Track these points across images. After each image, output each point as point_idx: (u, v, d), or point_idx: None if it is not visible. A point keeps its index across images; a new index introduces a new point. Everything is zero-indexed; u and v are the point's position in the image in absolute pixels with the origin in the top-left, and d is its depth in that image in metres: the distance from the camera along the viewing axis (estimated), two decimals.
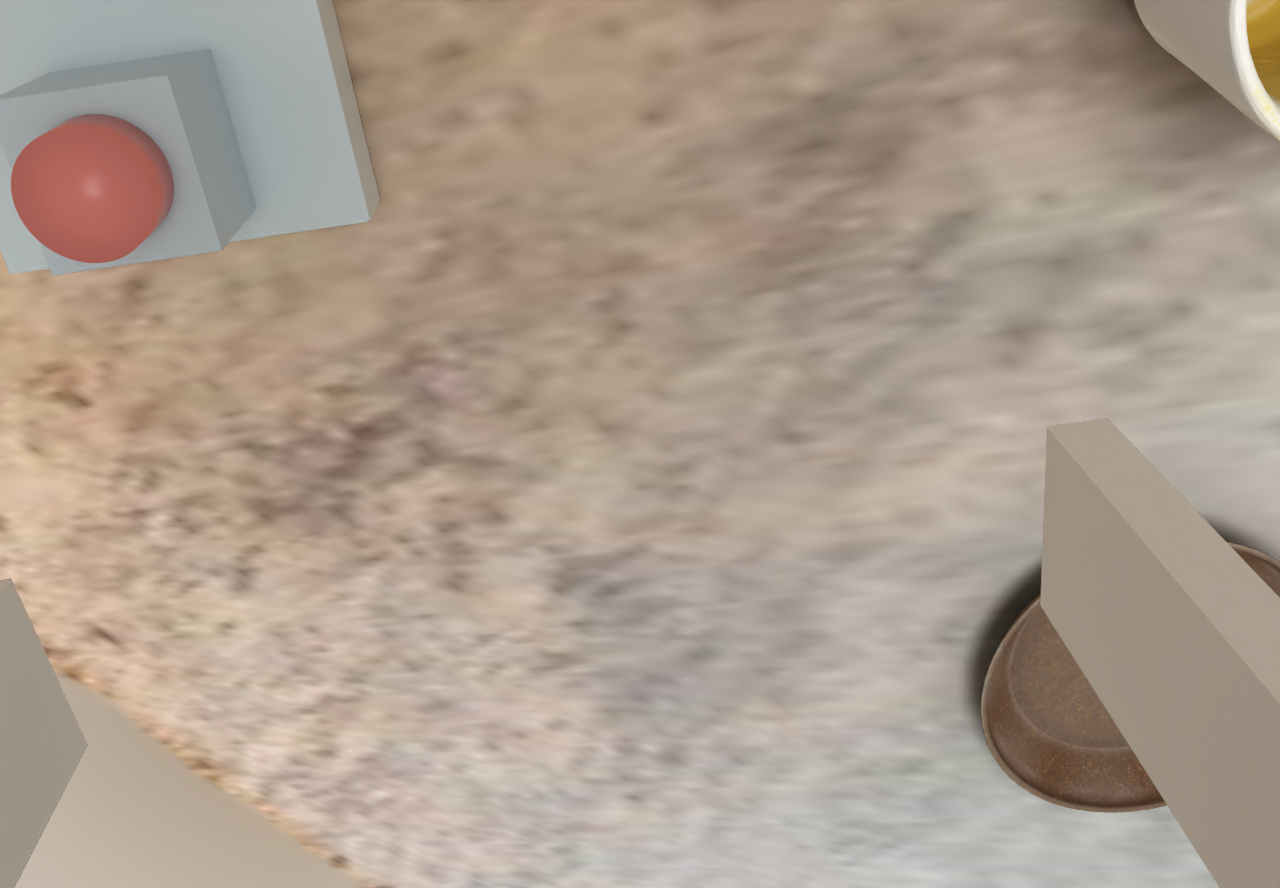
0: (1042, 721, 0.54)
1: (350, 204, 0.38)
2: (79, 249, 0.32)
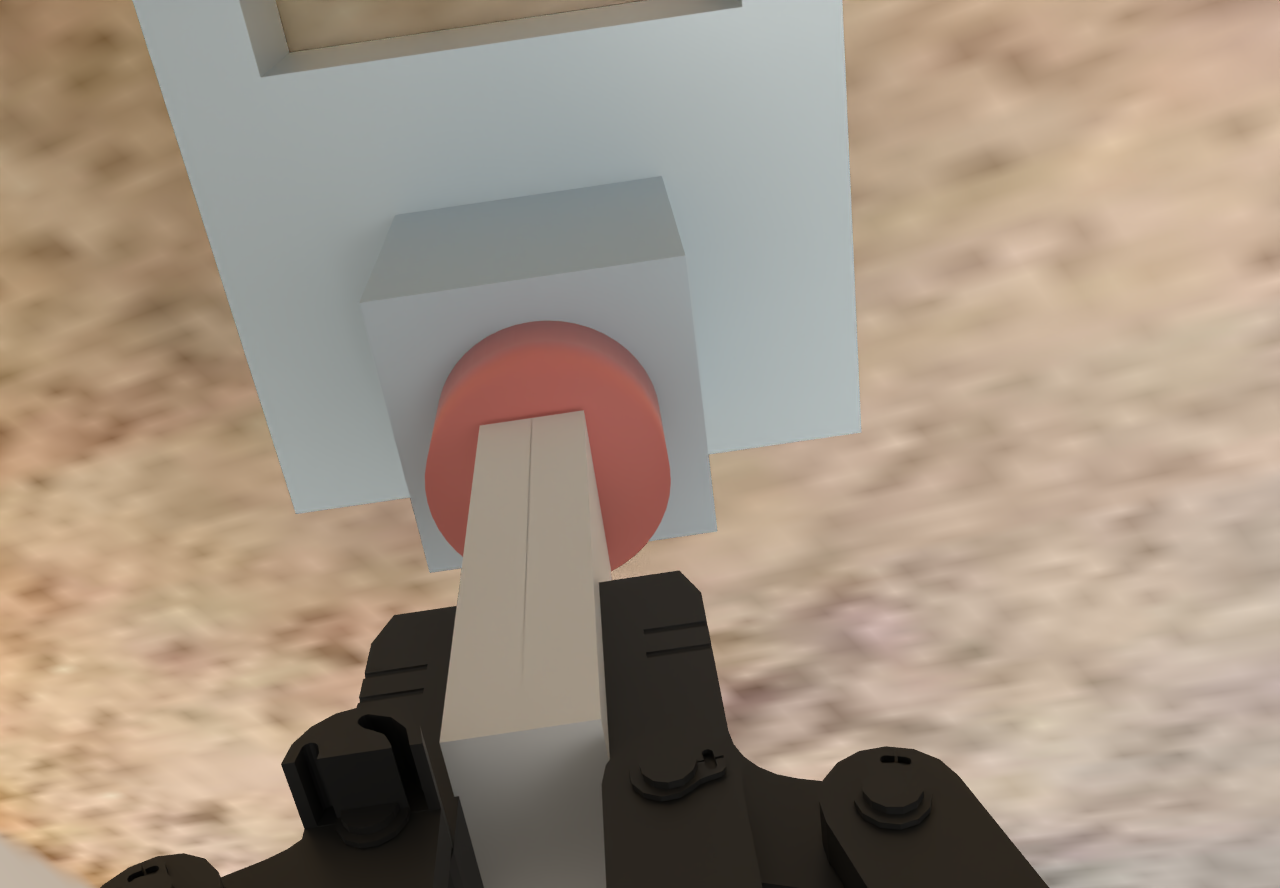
0: None
1: (836, 408, 0.24)
2: None
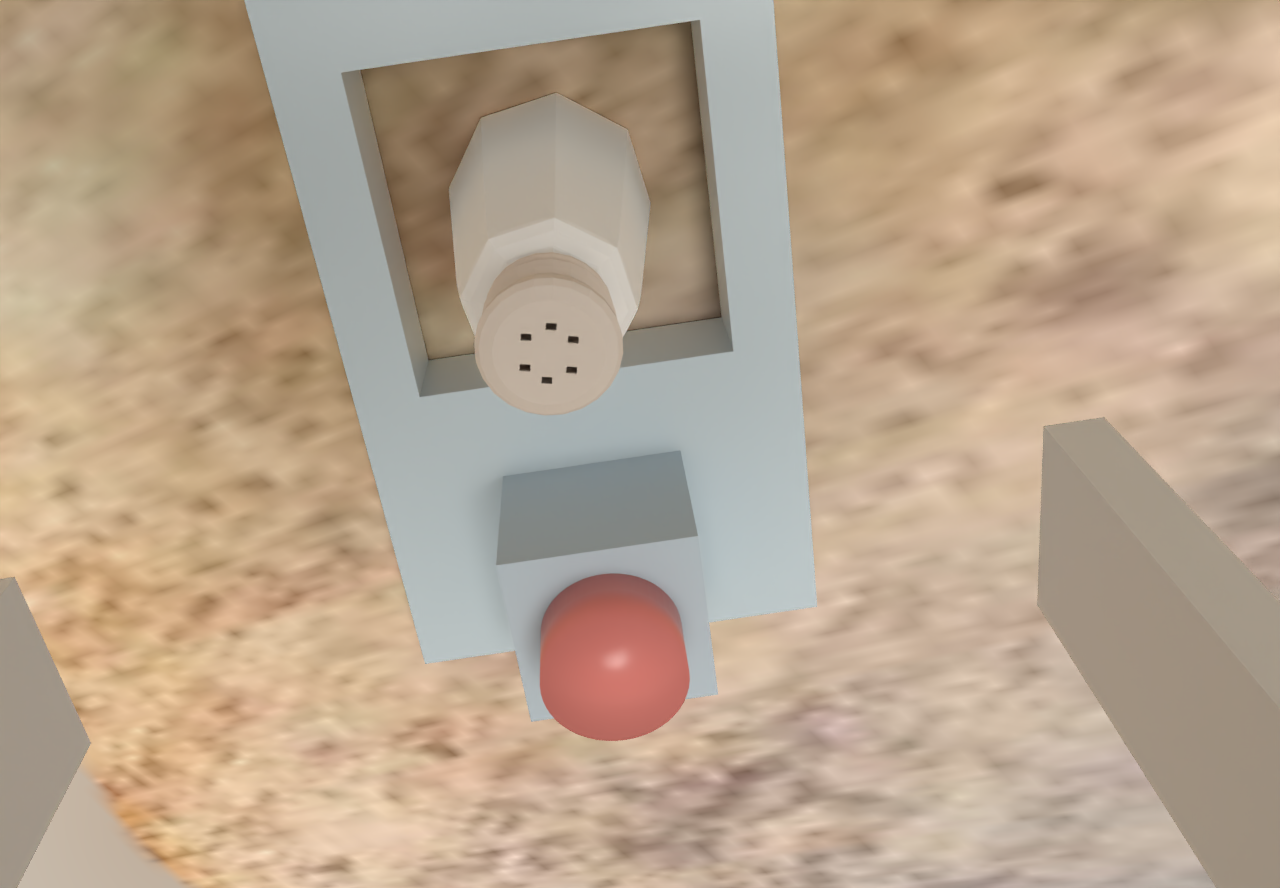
0: None
1: (799, 591, 0.35)
2: (600, 728, 0.29)
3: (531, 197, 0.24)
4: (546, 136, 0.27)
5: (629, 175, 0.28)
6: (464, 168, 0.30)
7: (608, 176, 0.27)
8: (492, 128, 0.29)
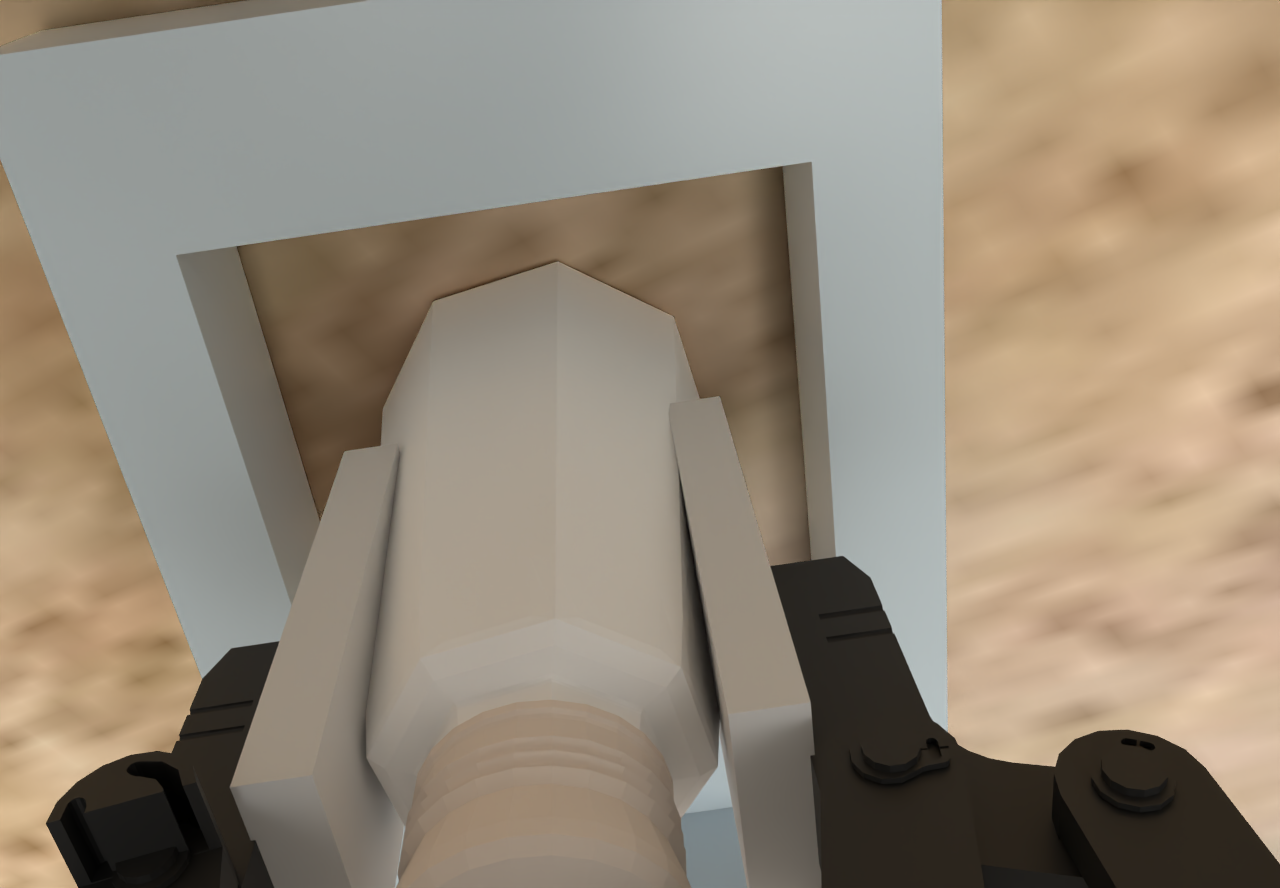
0: None
1: None
2: None
3: (509, 538, 0.13)
4: (540, 366, 0.16)
5: None
6: (404, 391, 0.18)
7: (651, 448, 0.15)
8: (449, 330, 0.17)
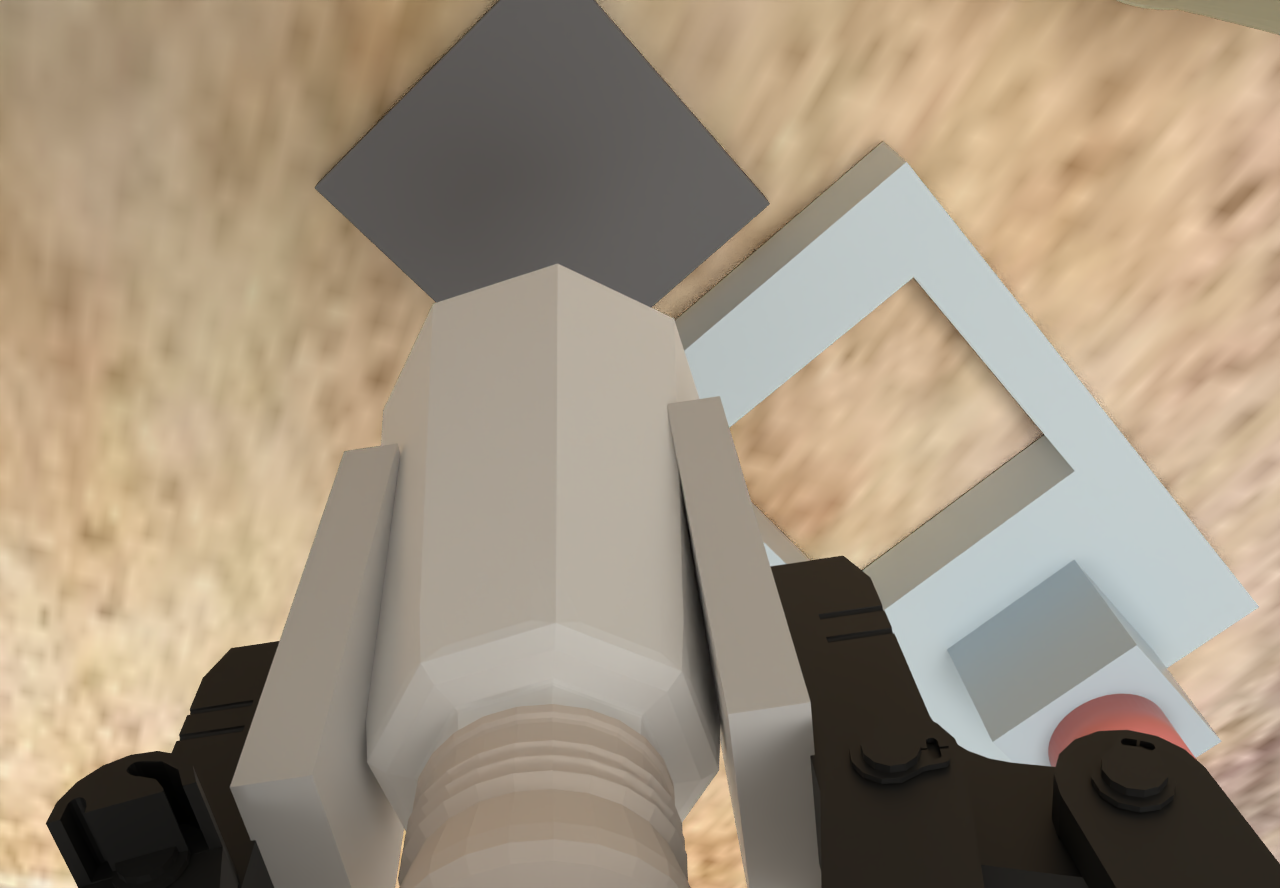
0: None
1: (1236, 604, 0.38)
2: None
3: (509, 542, 0.13)
4: (541, 369, 0.16)
5: None
6: (404, 394, 0.18)
7: (652, 451, 0.15)
8: (448, 333, 0.17)
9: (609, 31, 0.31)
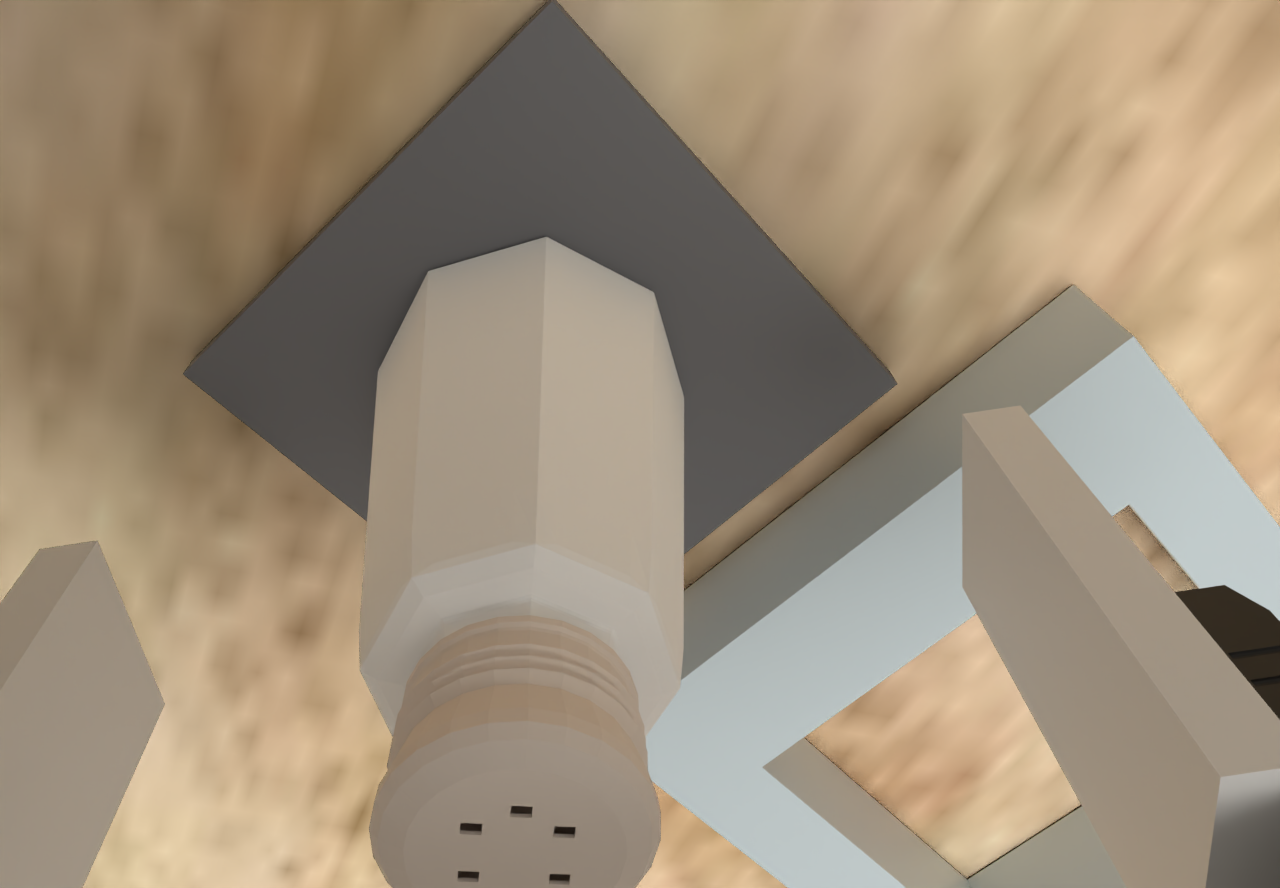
0: None
1: None
2: None
3: (495, 476, 0.14)
4: (527, 329, 0.17)
5: (659, 384, 0.18)
6: (399, 353, 0.19)
7: (628, 406, 0.16)
8: (442, 296, 0.19)
9: (650, 129, 0.19)
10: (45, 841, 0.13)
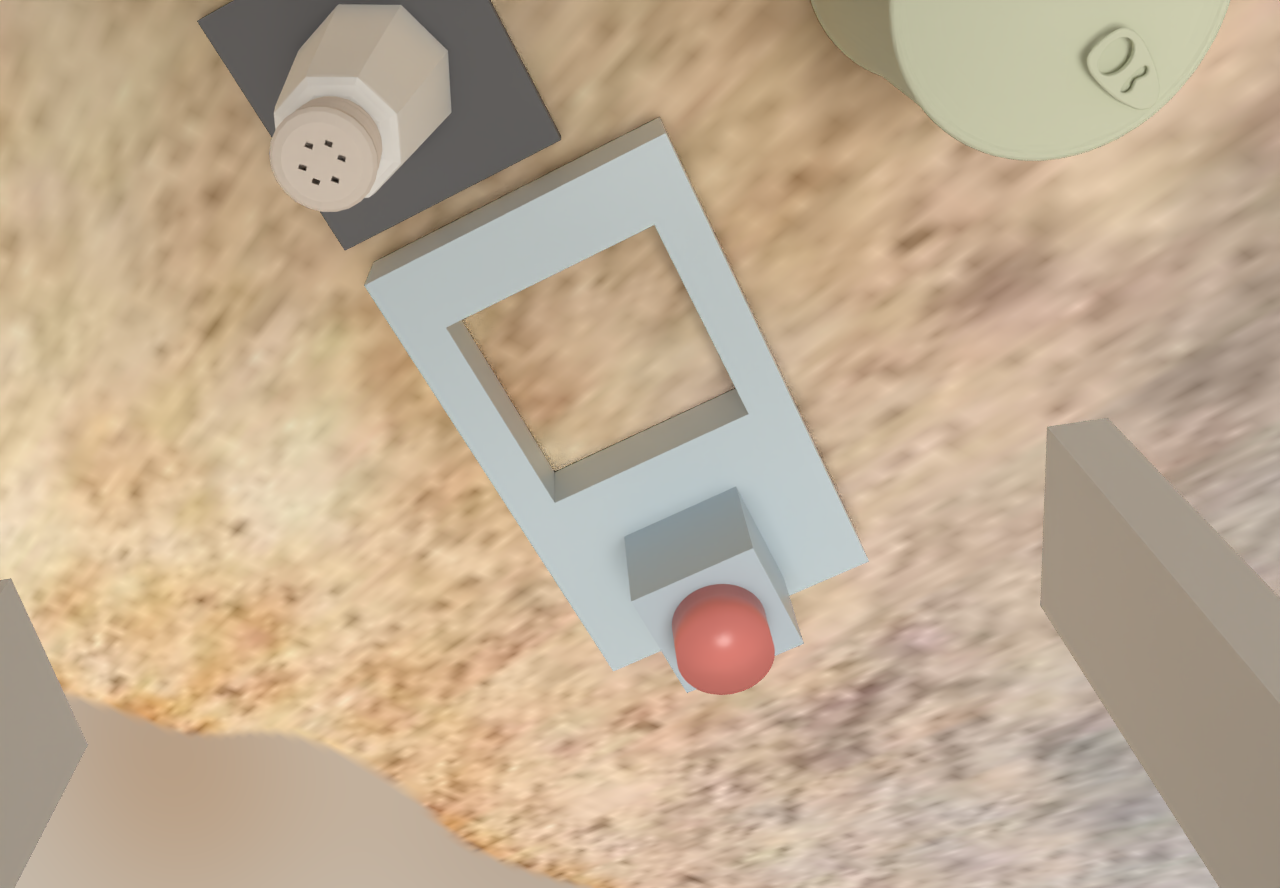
0: None
1: (852, 554, 0.49)
2: (726, 687, 0.43)
3: (347, 61, 0.33)
4: (378, 29, 0.36)
5: (434, 80, 0.38)
6: (313, 36, 0.38)
7: (414, 71, 0.36)
8: (342, 13, 0.38)
9: None
10: None
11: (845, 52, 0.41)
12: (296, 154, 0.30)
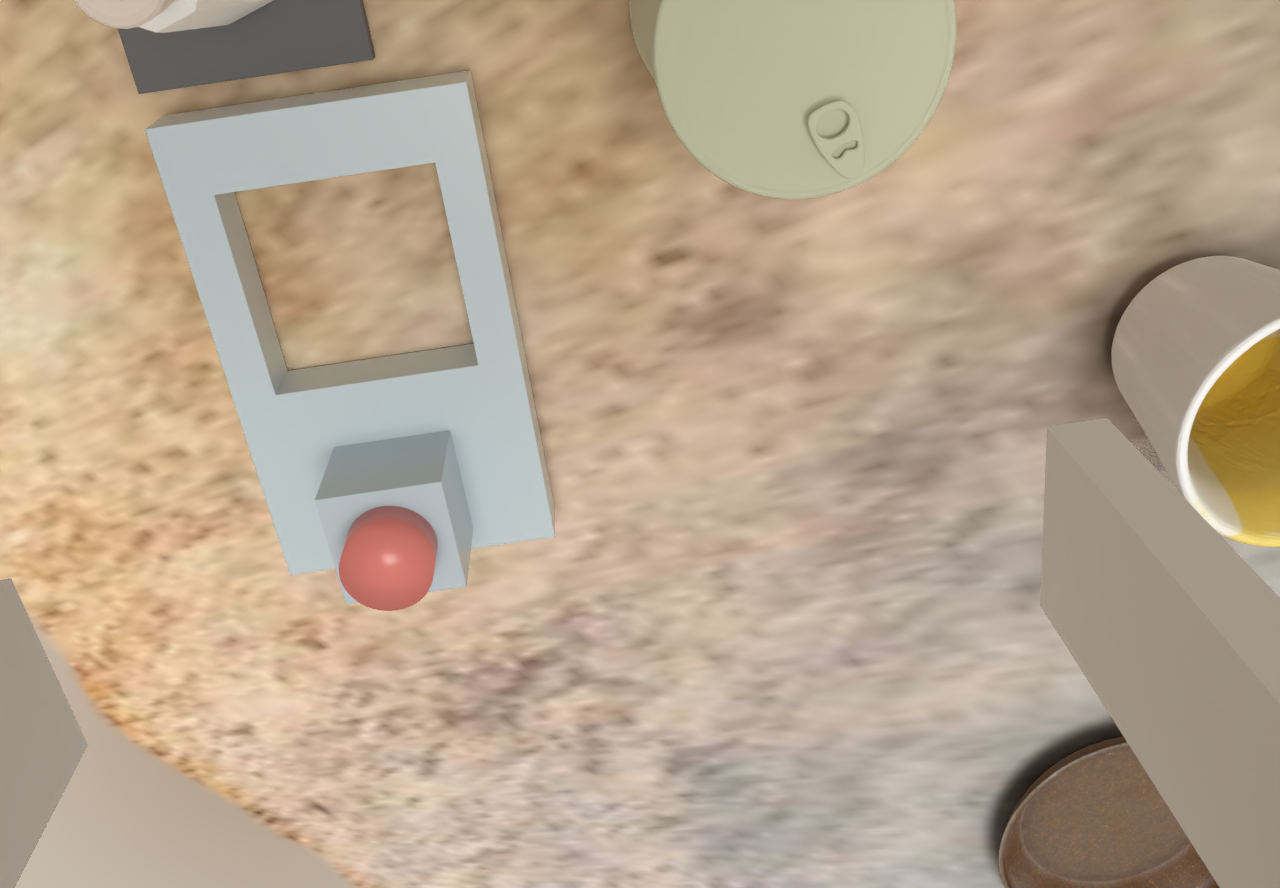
0: (1046, 862, 0.67)
1: (541, 525, 0.52)
2: (380, 602, 0.46)
3: None
4: None
5: None
6: None
7: None
8: None
9: None
10: None
11: (648, 68, 0.45)
12: None
